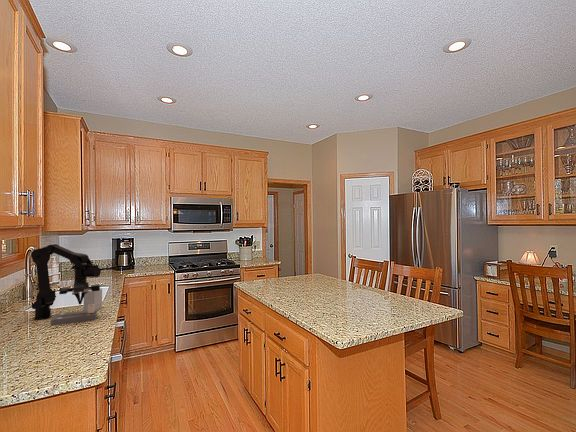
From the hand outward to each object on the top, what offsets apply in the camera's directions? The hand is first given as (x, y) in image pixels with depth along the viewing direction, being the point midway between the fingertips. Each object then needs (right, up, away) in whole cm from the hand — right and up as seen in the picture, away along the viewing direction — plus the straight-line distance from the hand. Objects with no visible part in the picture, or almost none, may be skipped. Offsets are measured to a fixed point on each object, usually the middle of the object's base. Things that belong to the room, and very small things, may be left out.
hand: (80, 304), depth 174 cm
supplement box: (-5, -9, +20) cm, 22 cm away
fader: (+5, -5, +3) cm, 7 cm away
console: (-2, -8, -1) cm, 9 cm away
